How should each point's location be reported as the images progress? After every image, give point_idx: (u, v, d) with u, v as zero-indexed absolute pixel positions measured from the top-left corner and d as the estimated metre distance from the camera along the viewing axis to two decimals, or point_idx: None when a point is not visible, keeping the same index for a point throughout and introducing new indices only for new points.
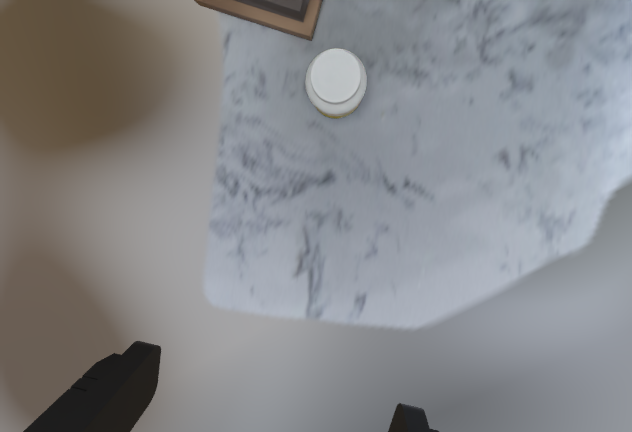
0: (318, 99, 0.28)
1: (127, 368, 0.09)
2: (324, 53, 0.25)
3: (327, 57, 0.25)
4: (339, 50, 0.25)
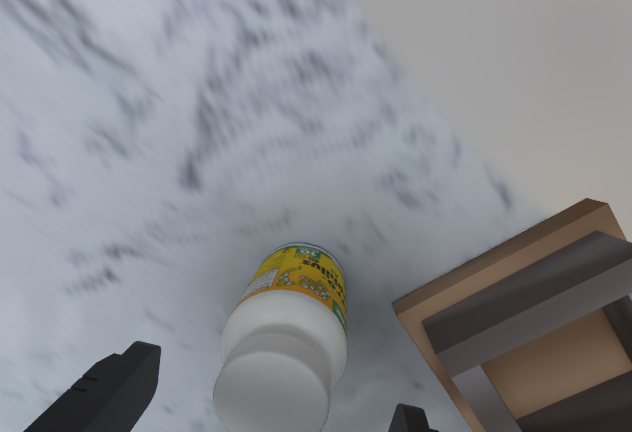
0: (272, 315, 0.13)
1: (127, 368, 0.09)
2: (323, 416, 0.11)
3: (312, 414, 0.11)
4: None
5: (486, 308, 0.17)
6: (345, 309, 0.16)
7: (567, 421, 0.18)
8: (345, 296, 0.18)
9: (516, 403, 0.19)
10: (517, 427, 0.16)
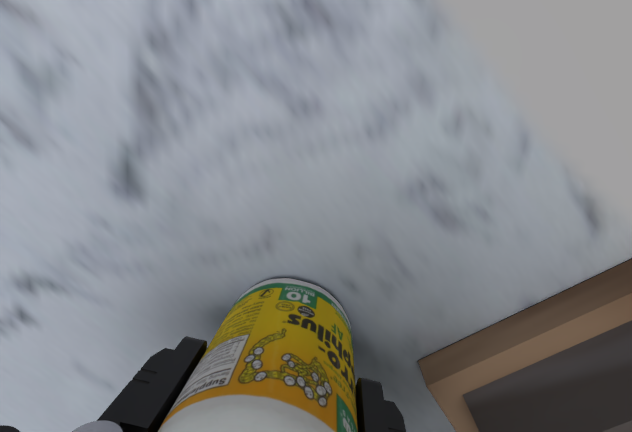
0: None
1: (182, 361, 0.10)
2: None
3: None
4: None
5: (573, 392, 0.11)
6: (355, 395, 0.10)
7: None
8: (353, 364, 0.12)
9: None
10: None
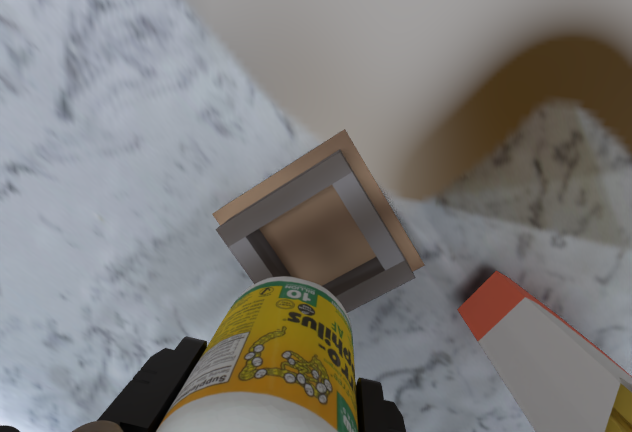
0: None
1: (182, 361, 0.10)
2: None
3: None
4: None
5: (258, 201, 0.24)
6: (355, 393, 0.10)
7: (328, 289, 0.25)
8: None
9: None
10: None
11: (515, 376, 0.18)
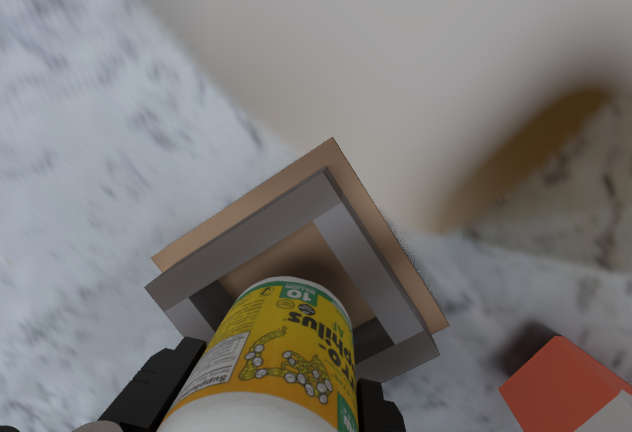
0: None
1: (182, 361, 0.10)
2: None
3: None
4: None
5: (208, 243, 0.16)
6: (355, 393, 0.10)
7: None
8: None
9: None
10: None
11: None
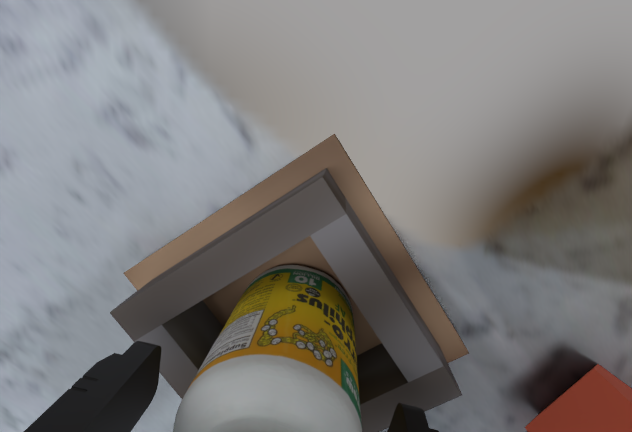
0: (248, 402, 0.08)
1: (128, 368, 0.09)
2: None
3: None
4: None
5: (187, 259, 0.14)
6: (356, 364, 0.12)
7: None
8: None
9: None
10: None
11: None
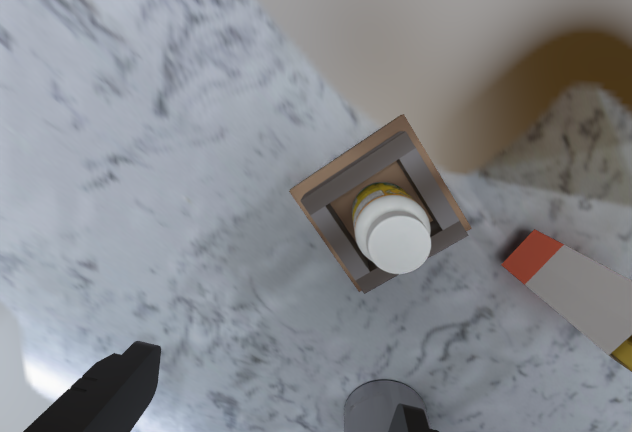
0: (392, 206, 0.22)
1: (127, 368, 0.09)
2: (427, 251, 0.21)
3: (421, 250, 0.21)
4: (417, 266, 0.21)
5: (333, 177, 0.28)
6: None
7: None
8: None
9: None
10: (351, 245, 0.28)
11: (562, 302, 0.22)
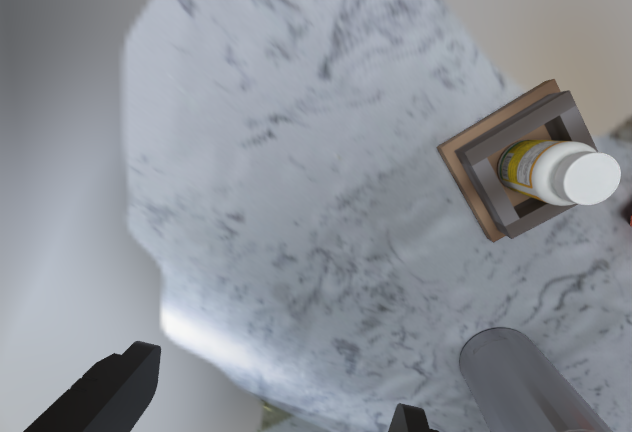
0: (575, 149, 0.26)
1: (127, 368, 0.09)
2: (616, 184, 0.25)
3: (611, 183, 0.25)
4: (605, 197, 0.25)
5: (490, 133, 0.32)
6: None
7: (532, 202, 0.34)
8: None
9: None
10: (505, 194, 0.32)
11: None
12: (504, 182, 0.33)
